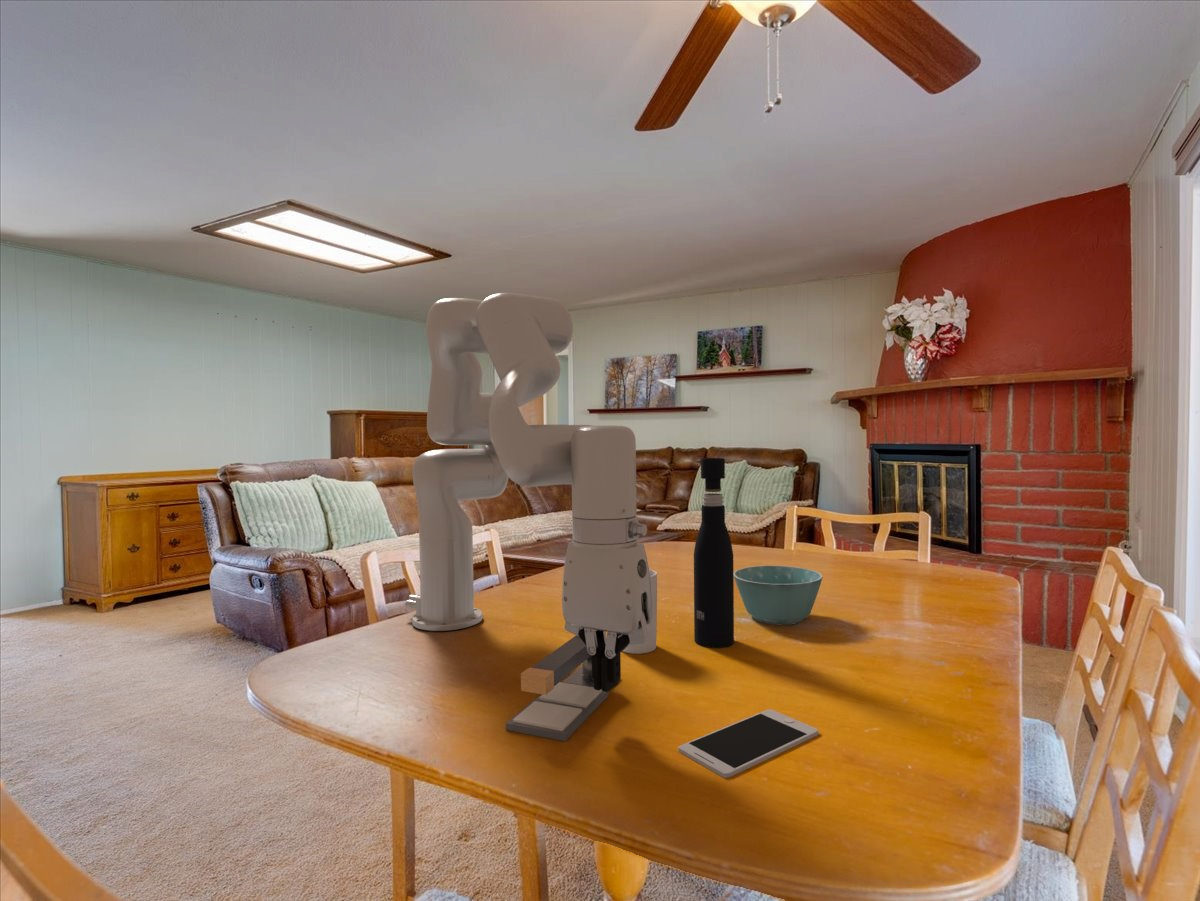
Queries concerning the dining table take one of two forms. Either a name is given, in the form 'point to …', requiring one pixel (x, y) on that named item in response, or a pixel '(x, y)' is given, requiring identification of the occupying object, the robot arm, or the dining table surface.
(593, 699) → the label tile
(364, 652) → the dining table surface
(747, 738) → the smartphone
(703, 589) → the black bottle
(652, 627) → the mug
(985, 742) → the dining table surface
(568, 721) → the label tile
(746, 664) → the dining table surface
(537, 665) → the swing arm
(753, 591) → the bowl
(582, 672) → the pivot post base
